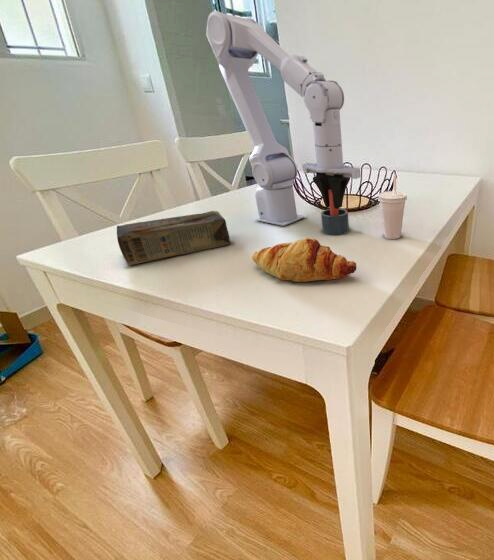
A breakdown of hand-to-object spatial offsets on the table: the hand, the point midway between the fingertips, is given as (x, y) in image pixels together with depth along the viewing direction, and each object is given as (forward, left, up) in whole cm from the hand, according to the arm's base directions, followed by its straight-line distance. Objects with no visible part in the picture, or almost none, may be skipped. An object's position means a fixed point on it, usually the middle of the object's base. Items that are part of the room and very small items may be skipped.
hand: (333, 206), depth 80 cm
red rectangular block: (0, 0, -2) cm, 2 cm away
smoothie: (+14, +3, -6) cm, 16 cm away
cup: (0, 0, -6) cm, 6 cm away
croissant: (+8, -21, -6) cm, 23 cm away
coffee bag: (-22, -25, -6) cm, 34 cm away
